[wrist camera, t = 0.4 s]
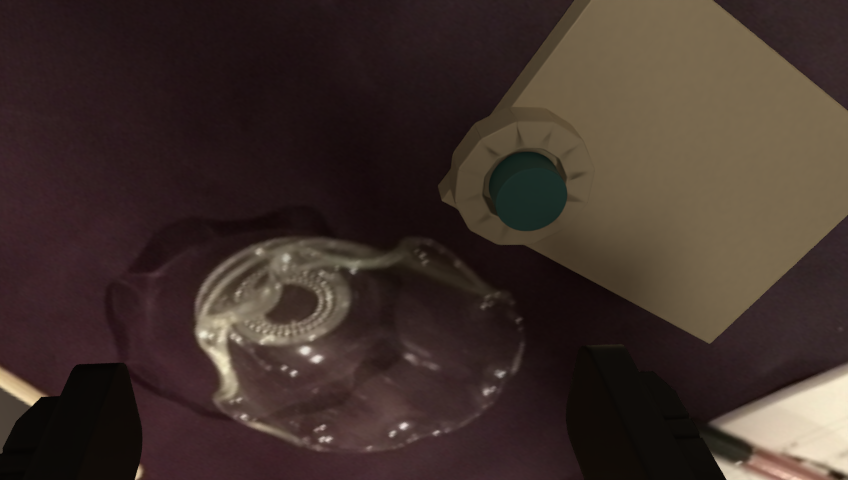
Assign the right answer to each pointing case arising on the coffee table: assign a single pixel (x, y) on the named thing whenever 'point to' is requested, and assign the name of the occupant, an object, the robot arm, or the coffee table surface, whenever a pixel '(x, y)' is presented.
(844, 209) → the button board
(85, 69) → the coffee table surface
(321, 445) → the coffee table surface
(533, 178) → the button
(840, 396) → the coffee table surface
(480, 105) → the coffee table surface
